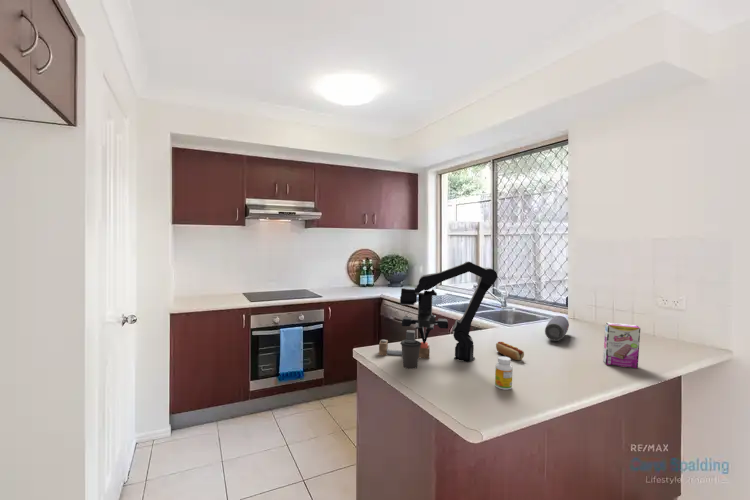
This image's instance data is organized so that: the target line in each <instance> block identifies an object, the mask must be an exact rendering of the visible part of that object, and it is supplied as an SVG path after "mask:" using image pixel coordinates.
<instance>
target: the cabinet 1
mask: <svg viewBox="0 0 750 500" xmlns="http://www.w3.org/2000/svg"><path fill="white" fill-rule="evenodd" d="M388 345H389V341H388V339H380V340H379V344H378V347H379V348H378V355H379V356H384V357H385V356H387V355H388V354H387V349H388V348H389V346H388ZM388 350H389V349H388Z"/></svg>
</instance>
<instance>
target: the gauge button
mask: <svg viewBox="0 0 750 500" xmlns="http://www.w3.org/2000/svg"><path fill="white" fill-rule="evenodd" d="M420 343H421V346H420V348H427V349H428V345H429V344H428V342H427V341H426V343H423V341H420Z"/></svg>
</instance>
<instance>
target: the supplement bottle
mask: <svg viewBox="0 0 750 500" xmlns="http://www.w3.org/2000/svg"><path fill="white" fill-rule="evenodd" d="M511 360H512V359H511V358H509V357H506V356H504V355H503V356H498V357H497V363H495V374H494V375H495V378H494V386H495V388H497V389H500V390H504V391H507V390H511V389H512V388H513V366H512V364H511V363H512V361H511Z"/></svg>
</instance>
